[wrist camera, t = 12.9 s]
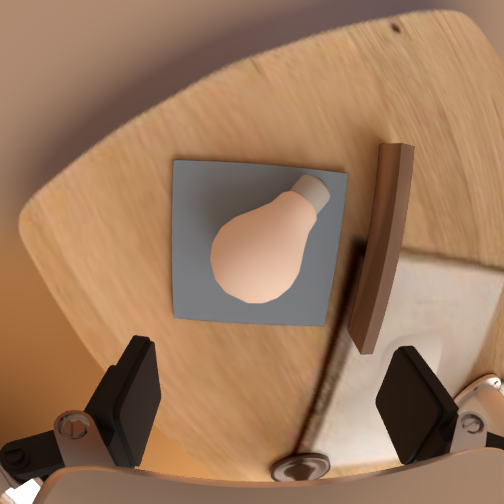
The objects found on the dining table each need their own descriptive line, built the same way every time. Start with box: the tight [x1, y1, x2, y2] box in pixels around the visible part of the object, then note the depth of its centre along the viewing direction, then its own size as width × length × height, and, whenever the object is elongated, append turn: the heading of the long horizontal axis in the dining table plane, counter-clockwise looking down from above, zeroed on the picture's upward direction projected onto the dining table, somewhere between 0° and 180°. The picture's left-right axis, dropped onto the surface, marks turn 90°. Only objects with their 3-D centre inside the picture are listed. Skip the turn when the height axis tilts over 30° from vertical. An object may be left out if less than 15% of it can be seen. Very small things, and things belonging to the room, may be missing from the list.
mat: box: [172, 160, 348, 326], centre depth 25 cm, size 14×14×1 cm
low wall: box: [348, 143, 415, 355], centre depth 24 cm, size 1×18×4 cm, turn 176°
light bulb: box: [210, 175, 330, 303], centre depth 22 cm, size 7×7×11 cm
